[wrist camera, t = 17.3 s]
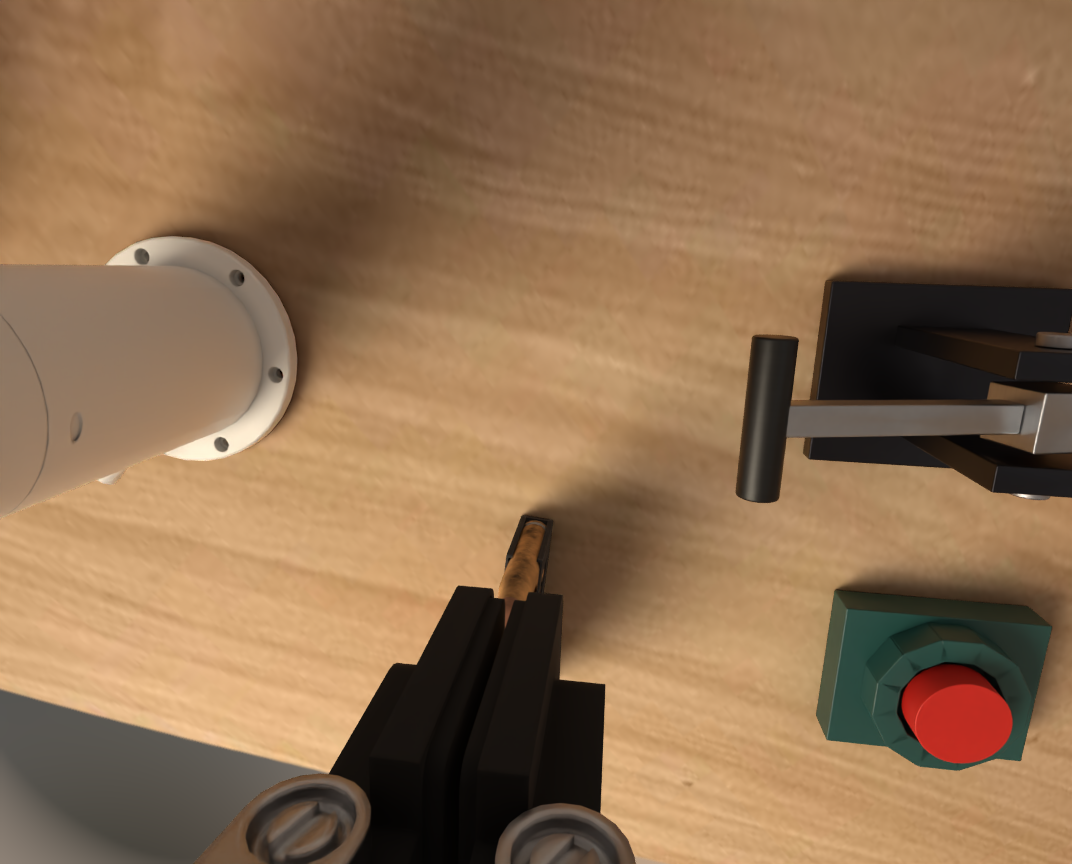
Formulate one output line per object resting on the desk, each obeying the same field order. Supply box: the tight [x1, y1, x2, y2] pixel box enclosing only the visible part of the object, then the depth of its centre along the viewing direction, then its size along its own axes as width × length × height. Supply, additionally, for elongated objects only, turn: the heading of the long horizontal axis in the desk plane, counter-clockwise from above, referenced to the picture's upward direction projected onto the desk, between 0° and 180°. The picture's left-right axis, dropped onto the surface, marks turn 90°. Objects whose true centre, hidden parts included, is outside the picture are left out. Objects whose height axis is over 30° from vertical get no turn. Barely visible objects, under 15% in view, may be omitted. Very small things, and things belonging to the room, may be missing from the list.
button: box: [902, 664, 1013, 763], centre depth 34 cm, size 4×4×2 cm
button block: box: [816, 590, 1052, 771], centre depth 36 cm, size 10×8×4 cm
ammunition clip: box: [498, 515, 553, 627], centre depth 34 cm, size 11×2×12 cm, turn 173°
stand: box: [803, 280, 1072, 500], centre depth 29 cm, size 11×9×12 cm
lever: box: [736, 335, 1072, 503], centre depth 24 cm, size 13×6×2 cm, turn 89°
